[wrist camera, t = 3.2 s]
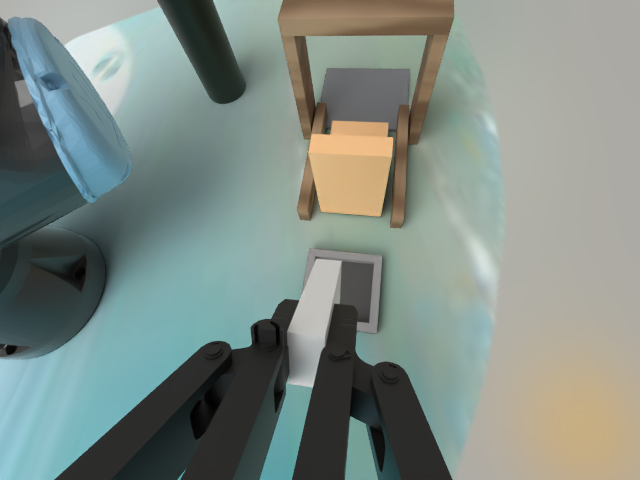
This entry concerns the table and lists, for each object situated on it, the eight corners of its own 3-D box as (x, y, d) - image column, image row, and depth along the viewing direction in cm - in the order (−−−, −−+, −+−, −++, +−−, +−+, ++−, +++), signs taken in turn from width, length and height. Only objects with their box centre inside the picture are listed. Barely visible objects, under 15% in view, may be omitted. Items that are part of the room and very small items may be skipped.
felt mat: (406, 131, 40) (406, 129, 39) (316, 127, 41) (316, 126, 41) (409, 71, 43) (409, 69, 43) (326, 70, 45) (326, 68, 45)
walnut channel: (414, 229, 34) (457, 134, 20) (288, 218, 36) (246, 126, 22) (417, 119, 40) (453, -15, 26) (308, 116, 42) (285, -10, 28)
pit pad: (376, 333, 31) (377, 332, 29) (299, 323, 32) (297, 321, 31) (381, 259, 33) (382, 255, 32) (310, 252, 35) (309, 248, 33)
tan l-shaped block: (380, 216, 35) (392, 156, 25) (321, 211, 36) (308, 152, 26) (386, 133, 39) (398, 54, 29) (333, 131, 40) (326, 53, 30)
